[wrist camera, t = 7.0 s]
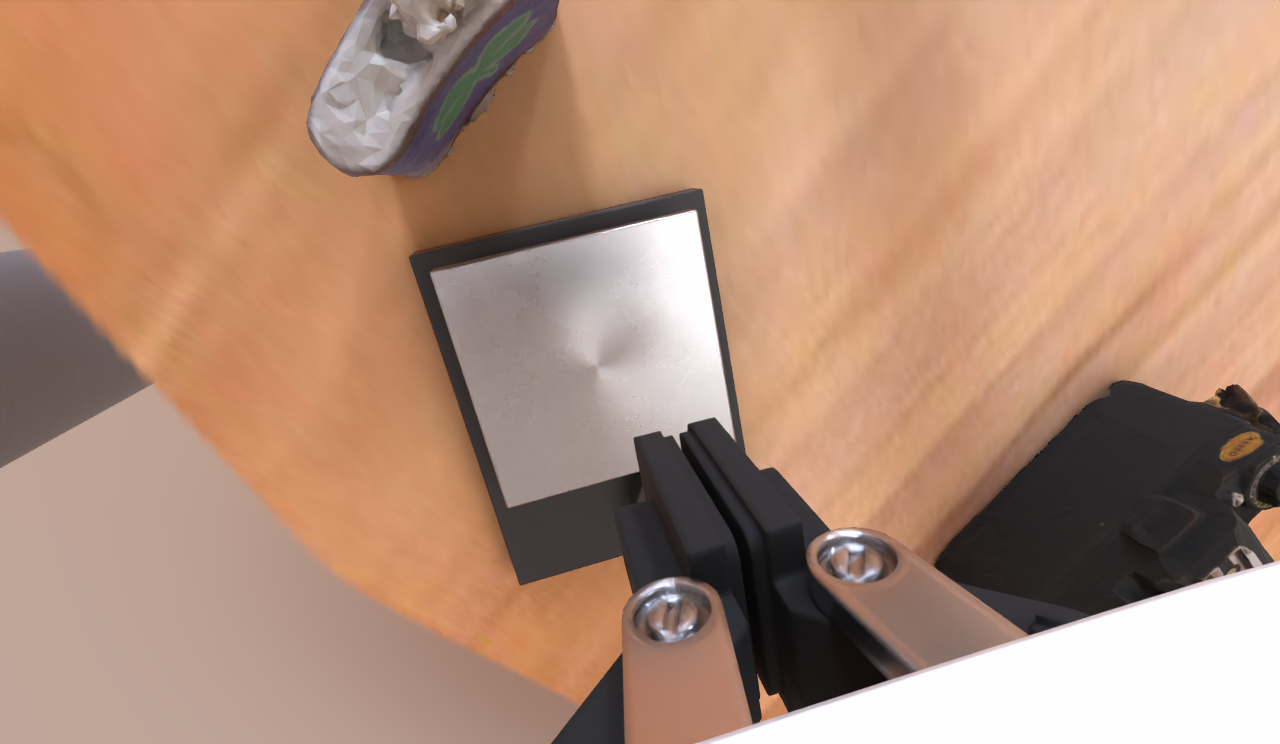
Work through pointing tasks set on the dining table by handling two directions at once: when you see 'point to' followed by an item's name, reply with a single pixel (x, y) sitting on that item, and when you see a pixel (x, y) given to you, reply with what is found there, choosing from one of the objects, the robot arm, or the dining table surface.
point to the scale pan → (586, 350)
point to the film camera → (1129, 503)
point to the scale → (533, 531)
